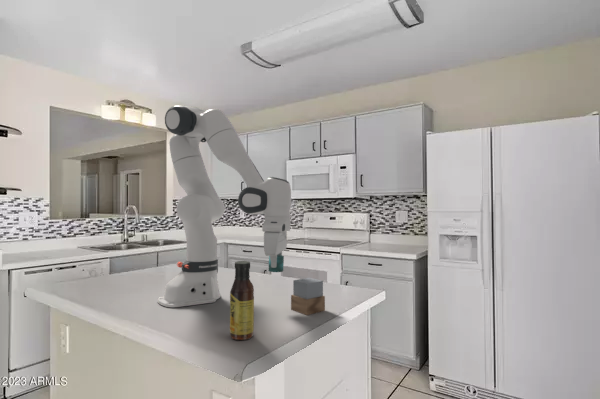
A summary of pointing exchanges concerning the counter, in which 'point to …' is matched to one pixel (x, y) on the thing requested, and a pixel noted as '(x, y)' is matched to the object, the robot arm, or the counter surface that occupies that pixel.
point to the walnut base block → (307, 305)
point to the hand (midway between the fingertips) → (275, 265)
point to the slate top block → (308, 288)
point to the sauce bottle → (242, 303)
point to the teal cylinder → (279, 264)
